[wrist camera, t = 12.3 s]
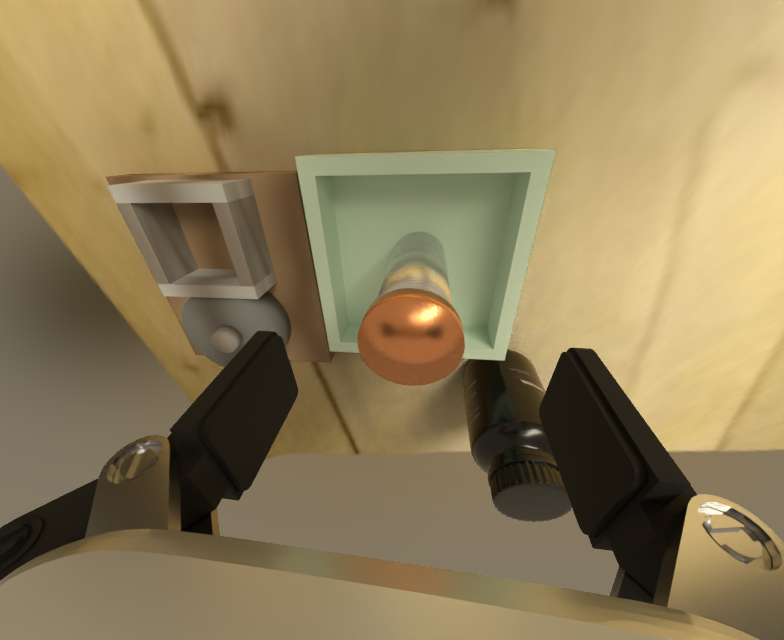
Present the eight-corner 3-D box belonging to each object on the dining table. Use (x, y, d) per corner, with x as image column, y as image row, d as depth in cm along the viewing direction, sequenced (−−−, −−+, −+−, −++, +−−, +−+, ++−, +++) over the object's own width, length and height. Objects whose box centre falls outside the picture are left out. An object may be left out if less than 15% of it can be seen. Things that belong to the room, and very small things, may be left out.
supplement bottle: (541, 347, 25) (614, 480, 15) (525, 399, 29) (576, 535, 19) (464, 344, 26) (485, 469, 16) (457, 395, 30) (472, 524, 20)
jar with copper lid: (451, 227, 20) (471, 300, 11) (446, 286, 22) (458, 388, 13) (387, 227, 20) (352, 297, 11) (389, 285, 23) (361, 382, 14)
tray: (532, 148, 18) (556, 149, 14) (494, 331, 25) (504, 360, 22) (318, 154, 19) (294, 156, 16) (342, 325, 27) (329, 351, 23)
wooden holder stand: (307, 170, 20) (269, 179, 15) (336, 349, 28) (318, 389, 24) (130, 174, 21) (48, 182, 17) (208, 342, 30) (168, 379, 25)
